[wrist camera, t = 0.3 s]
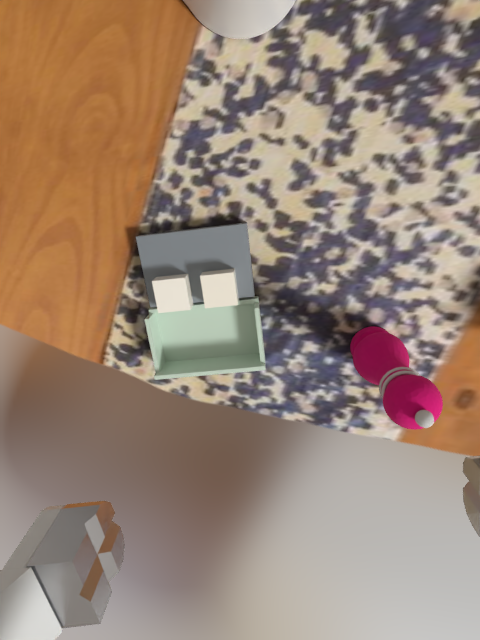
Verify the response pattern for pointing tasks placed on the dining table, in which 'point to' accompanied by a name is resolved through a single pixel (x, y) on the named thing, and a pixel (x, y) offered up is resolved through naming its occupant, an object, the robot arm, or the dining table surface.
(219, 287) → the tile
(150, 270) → the slate plate
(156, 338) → the bin
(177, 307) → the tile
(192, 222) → the dining table surface
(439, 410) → the pepper mill
